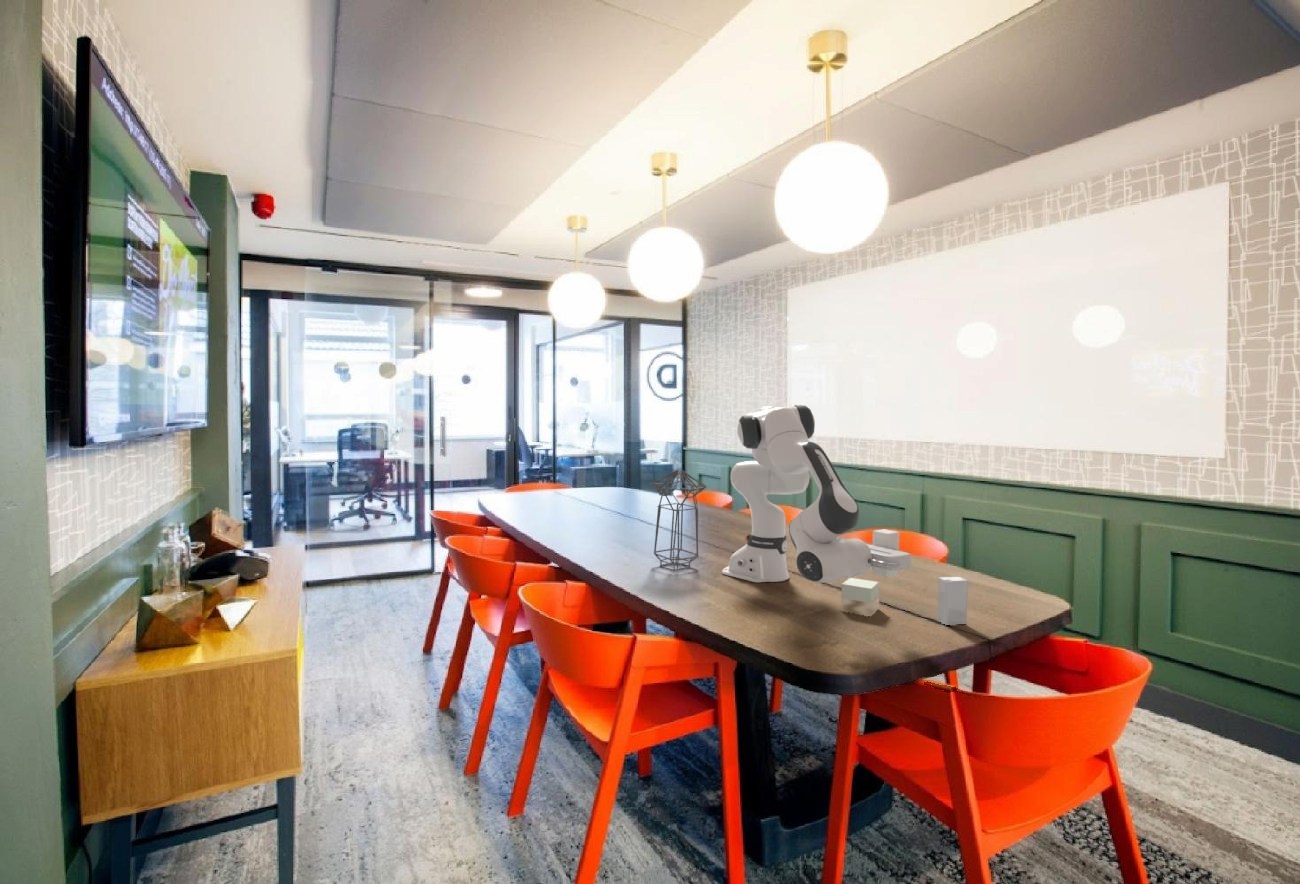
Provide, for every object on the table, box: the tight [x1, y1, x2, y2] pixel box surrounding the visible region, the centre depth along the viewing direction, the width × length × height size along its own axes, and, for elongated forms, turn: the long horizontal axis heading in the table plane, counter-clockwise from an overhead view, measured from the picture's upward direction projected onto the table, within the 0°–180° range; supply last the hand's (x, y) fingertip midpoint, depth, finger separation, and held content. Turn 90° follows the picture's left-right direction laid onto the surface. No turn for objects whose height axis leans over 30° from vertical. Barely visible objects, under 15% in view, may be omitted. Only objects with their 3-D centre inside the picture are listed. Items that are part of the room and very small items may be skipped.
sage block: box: [840, 577, 880, 603], centre depth 176 cm, size 8×8×4 cm
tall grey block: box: [871, 528, 900, 579], centre depth 158 cm, size 4×4×11 cm
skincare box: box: [936, 576, 969, 626], centre depth 165 cm, size 6×4×12 cm
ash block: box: [840, 595, 880, 617], centre depth 176 cm, size 8×8×4 cm
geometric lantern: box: [649, 469, 708, 572], centre depth 221 cm, size 16×16×35 cm
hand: (887, 550), depth 159 cm, fingers closed on tall grey block, 4 cm apart
